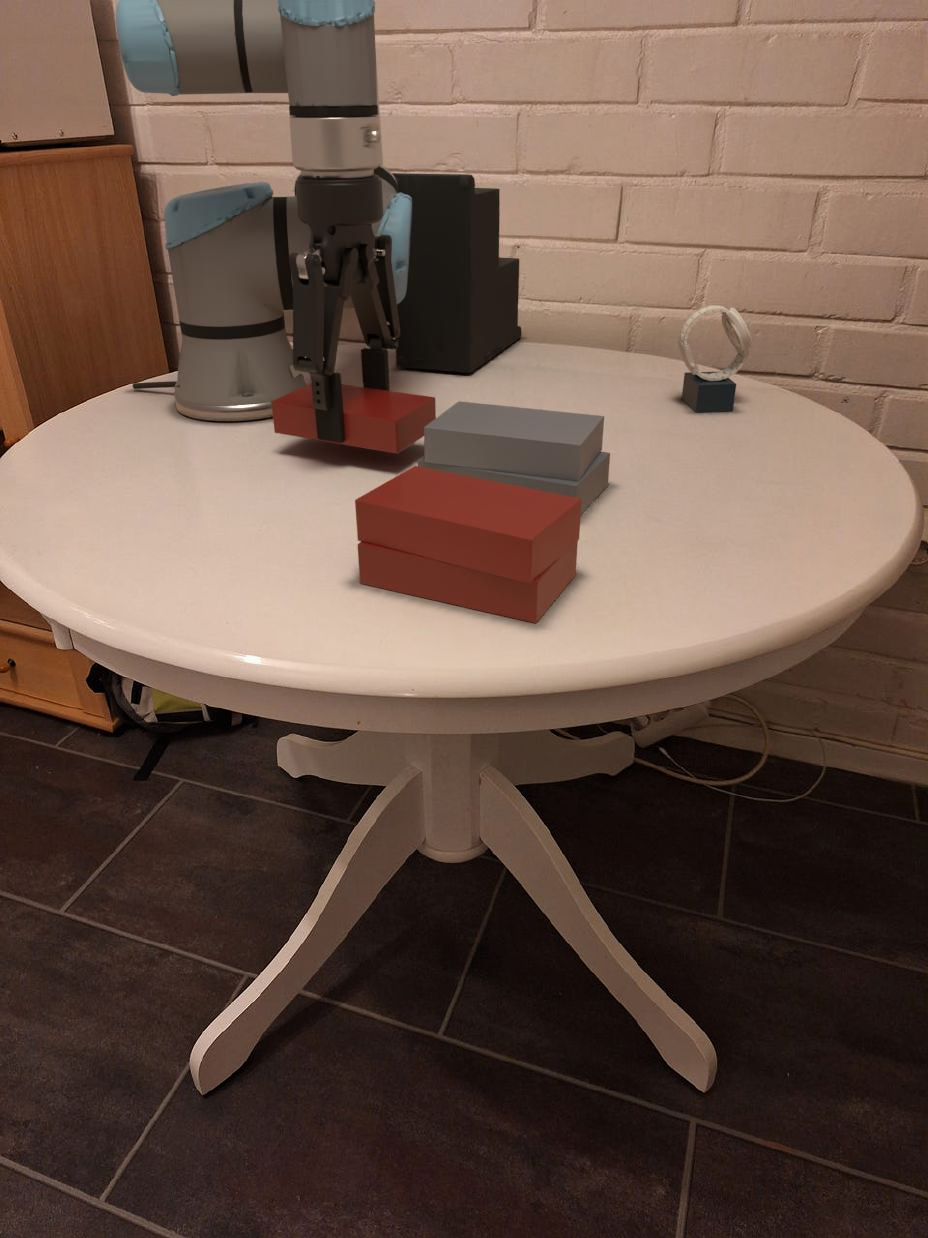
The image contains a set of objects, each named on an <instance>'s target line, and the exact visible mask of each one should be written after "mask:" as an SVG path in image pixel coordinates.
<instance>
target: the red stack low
mask: <svg viewBox="0 0 928 1238" xmlns="http://www.w3.org/2000/svg"><path fill="white" fill-rule="evenodd" d="M578 541H579V540H578ZM578 541H577V542H576V543H575V544H574V545H572V546H571V547H570V548H569V549H568V550H567V551H566V552H565V553H564V554H563V555H561V556H560V557H559V558H558V559H557V560H556V561H555V562H554V563H553V564H552V565H551V566H549V567H548V568H547V569H546V570H545V571H544V572H543V573H542V574H541V575H540V576H538V577H537V578H536V579H535V580H534V581H533V582H532V583H526V582H522V581H518V580H514V579H510V578H506V577H502V576H498V575H494V574H490V573H486V572H482V571H478V570H474V569H470V568H466V567H462V566H458V565H454V564H450V563H446V562H442V561H438V560H434V559H430V558H425V557H421V556H417V555H413V554H409V553H405V552H401V551H397V550H393V549H389V548H385V547H381V546H377V545H373V544H369V543H365V542H361V541H359V543H357V558H358V571H359V573H358V574H359V584H361V585H365V586H370V587H374V588H379V589H384V590H388V591H393V592H397V593H401V594H405V595H411V596H414V597H418V598H423V599H428V600H432V601H435V602H441V603H444V604H450V605H454V606H459V607H463V608H467V609H472V610H476V611H480V612H484V613H489V614H493V615H498V616H503V617H507V618H512V619H515V620H519V621H520V620H521V621H525V622H529V623H533V624H537V623H538V622H539V620H540V619H541V618H542V617H543V615H544V614H545V613H546V612H547V610H548V609H550V607H551V606H552V604H553V603H554V602H555V601H556V600H557V599H558V597H559V596H560V595H561V593H562V592H563V591H564V590H565V589H566V588H567V587H568V585H569V584H570V582H571V581H573V579H574V578H575V577H576V575H577V559H578V544H579V542H578Z"/></svg>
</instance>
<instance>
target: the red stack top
mask: <svg viewBox="0 0 928 1238" xmlns="http://www.w3.org/2000/svg"><path fill="white" fill-rule="evenodd" d="M581 500H582V499H581V498H576V497H571V496H566V495H560V494H555V493H550V492H545V491H540V490H535V489H530V488H525V487H520V486H515V485H510V484H505V483H500V482H495V481H490V480H485V479H480V478H474V477H469V476H464V475H459V474H454V473H449V472H444V471H439V470H434V469H429V468H424V467H419V466H418V465H414V466H412V467H410V468H408V469H407V470H405V471H404V472H402V473H399V474H398V475H396V476H395V477H393V478H391V479H389V480H388V481H385V482H384V483H382V484H381V485H379V486H376V487H375V488H374V489H371V490H370V491H368V492H366V493H364V494H363V495H361V496H359V497H357V498H356V499H355V500H354V507H355V520H356V521H355V523H356V534H357V535H356V537H357V541H358V542H365V543H369V544H373V545H377V546H381V547H385V548H389V549H393V550H397V551H401V552H405V553H409V554H413V555H417V556H421V557H425V558H430V559H434V560H438V561H442V562H446V563H450V564H454V565H458V566H462V567H466V568H470V569H474V570H478V571H482V572H486V573H490V574H494V575H498V576H502V577H506V578H510V579H514V580H518V581H522V582H526V583H532V582H533V581H534V580H535V579H536V578H537V577H538V576H540V575H541V574H542V573H543V572H544V571H545V570H546V569H547V568H548V567H549V566H551V565H552V564H553V563H554V562H555V561H556V560H557V559H558V558H559V557H560V556H561V555H563V554H564V553H565V552H566V551H567V550H568V549H569V548H570V547H571V546H572V545H574V544H575V543H576V542H577V541H579V540H580V532H581V515H582V514H581Z"/></svg>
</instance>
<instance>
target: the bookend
mask: <svg viewBox="0 0 928 1238" xmlns="http://www.w3.org/2000/svg"><path fill="white" fill-rule="evenodd" d="M391 173H392V174H393V175H394V177H395V179H396V181H397V184H398V193H403V194H406V195H409V196H410V197H411V198H412V220H411V235H410V253H409V267H408V280H407V291H406V295H405V297H404V299H403V300H402V301H401V302H400V303H399V304H397V309H398V317H399V324H400V335H399V337H398V338H394V339H396V340H398V347H397V349H395V359H396V361H395V364H396V367H397V368H401V369H402V368H406V369H421V370H431V371H442V372H443V371H445V372H454V373H456V372H457V373H463V374H466V373H467V374H469V373H472V372H474V371H475V370H476V369H478V368H479V367H480V366H482V365H484V364H485V363H487V361H489V360H491V359H492V358H493V357H495V356H496V355H498V354H499V353H501V352H502V351H504V350H505V349H507V348H508V347H509V346H511V345H513V343H515V342H516V341H518V340H519V339H521V337H522V333H523V332H522V327H521V326H520V325H519V297H520V296H519V295H520V294H519V293H520V289H519V288H520V258H519V257H502V256H500V205H501V204H500V203H501V202H500V201H501V199H500V194H501V193H500V191H501V189H500V188H497V187H495V188H494V187H493V188H492V187H476V181H475V180H476V179H475V177H474V176H473V174H468V173H466V174H465V173H461V174H460V173H408V172H407V173H401V172H391Z"/></svg>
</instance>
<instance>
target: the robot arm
mask: <svg viewBox="0 0 928 1238" xmlns="http://www.w3.org/2000/svg"><path fill="white" fill-rule="evenodd" d="M375 12H376V1H375V0H118V2H117V3H116V8H115V28H116V37H117V42H118V49H119V52H120V57H121V62H122V65H123V68H124V72H125V74H126V77H127V79H128V81H129V83H130V84H131V86H132V87H133V88H134V89H136V90H137V91H139V92H141V93H145V94H162V95H163V94H164V95H166V94H167V95H169V96H171V97H176V96H178V95H179V96H181V95H222V94H223V95H226V94H230V95H231V94H287V95H288V103H289V104H288V105H289V106H288V111H289V112H288V113H289V131H290V132H289V133H290V145H291V157H292V167H293V168H295V170H297V171H300V173H299V174H298V175H297V176H296V179H295V181H294V189H293V191H294V196H292V195H291V196H274V189H273V188H272V186H271V184H270V183H269V182H268V181H267V182H266V181H258V182H250V183H249V182H248V183H247V182H246V183H239V184H232V185H226V186H221V187H215V188H209V189H203V190H199V191H194V192H189V193H186V194H182V195H178V196H176V197H173V198H172V199H170V200H169V201H168V203H167V204H166V205H165V208H164V211H163V219H164V231H165V240H166V243H165V245H164V246H165V250H167V255H168V259H169V260H168V261H169V267H170V272H171V279H172V284H173V291H174V298H175V302H176V309H177V316H178V322H179V327H180V334H181V345H180V346H181V347H180V353H179V359H178V365H177V380H174V381H173V380H172V381H150V382H148V381H147V382H133V384H132V389H134V390H142V389H143V390H144V389H161V388H164V389H166V388H174V392H173V394H174V400H175V401H174V402H175V406H176V407H175V408H176V410H177V411H178V412H179V413H180V414H182V415H184V416H187V417H189V418H193V419H197V420H203V421H212V422H241V421H242V422H243V421H254V420H261V419H267V418H273V413H272V404H271V402H272V401H274V400H276V399H278V398H280V397H282V396H285V395H287V394H289V393H291V392H293V391H295V390H298V389H300V388H302V387H304V386H306V385H308V383H307V381H306V378H305V376H304V375H303V373H307V374H308V375H309V377H310V378H309V379H310V384H311V387H312V397H313V405H314V408H315V416H316V427H317V438H318V439H321V440H326V441H332V442H338V443H342V442H344V441H346V440H345V427H344V412H343V399H342V386H341V384H342V374H341V372H337V371H335V368H336V361H337V354H338V348H339V347H338V346H339V342H340V334H341V326H342V320H343V313H344V309H345V310H346V309H349V310H350V309H354V311H355V314H356V318H357V322H358V325H359V327H360V328H359V329H360V331H361V334H362V337H363V340H364V343H365V346H367V347H364V348H361V349H360V360H361V376H362V378H361V380H362V387H365V388H372V389H379V390H386V391H391V388H390V387H391V386H390V368H389V367H390V366H389V365H390V364H389V350H394V351H396V349H397V347H398V340H396V339H395V338H398V337H399V335H400V324H399V317H398V309H397V304H399V303H400V302H401V301H402V300H403V299H404V297H405V295H406V291H407V280H408V267H409V253H410V235H411V220H412V198H411V197H410V196H409V195H406V194H403V193H398V184H397V181H396V179H395V177H394V175H393V174H392V173H393V172H392V171H390V170H389V169H388V168H387V167H385V166H384V155H383V142H382V126H381V114H380V113H381V111H380V110H381V109H380V96H379V82H378V80H379V79H378V63H377V48H376V27H375ZM284 311H292V344H291V343H290V340H289V338H288V335H287V331H286V320H285V312H284ZM368 347H369V348H368ZM326 441H325V442H326ZM332 442H331V443H332ZM338 443H337V444H338Z"/></svg>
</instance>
